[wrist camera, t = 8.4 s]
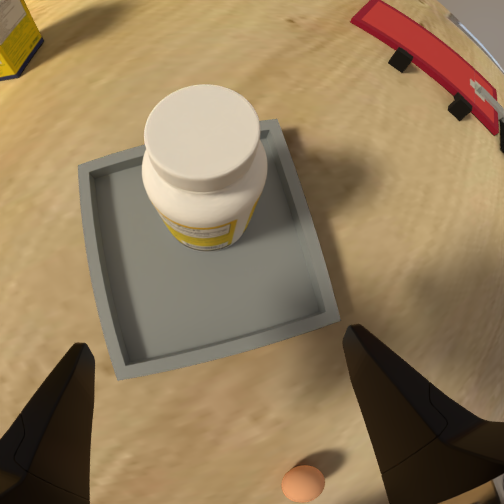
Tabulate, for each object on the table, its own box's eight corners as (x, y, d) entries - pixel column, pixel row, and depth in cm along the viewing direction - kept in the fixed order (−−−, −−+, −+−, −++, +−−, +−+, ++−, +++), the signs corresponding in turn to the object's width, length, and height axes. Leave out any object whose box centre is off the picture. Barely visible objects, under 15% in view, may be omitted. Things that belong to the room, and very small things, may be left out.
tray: (330, 319, 19) (341, 320, 18) (125, 374, 17) (117, 380, 15) (272, 131, 21) (277, 118, 19) (87, 175, 19) (77, 165, 17)
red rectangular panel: (523, 194, 25) (520, 127, 29) (537, 187, 23) (530, 119, 26) (337, 36, 25) (370, 2, 28) (346, 19, 22) (377, -10, 26)
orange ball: (320, 480, 17) (333, 500, 14) (282, 493, 17) (292, 515, 14) (312, 452, 18) (327, 472, 15) (273, 466, 17) (282, 487, 14)
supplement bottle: (214, 157, 19) (219, 52, 10) (266, 217, 19) (316, 141, 10) (148, 205, 18) (98, 122, 9) (200, 271, 18) (186, 238, 9)
